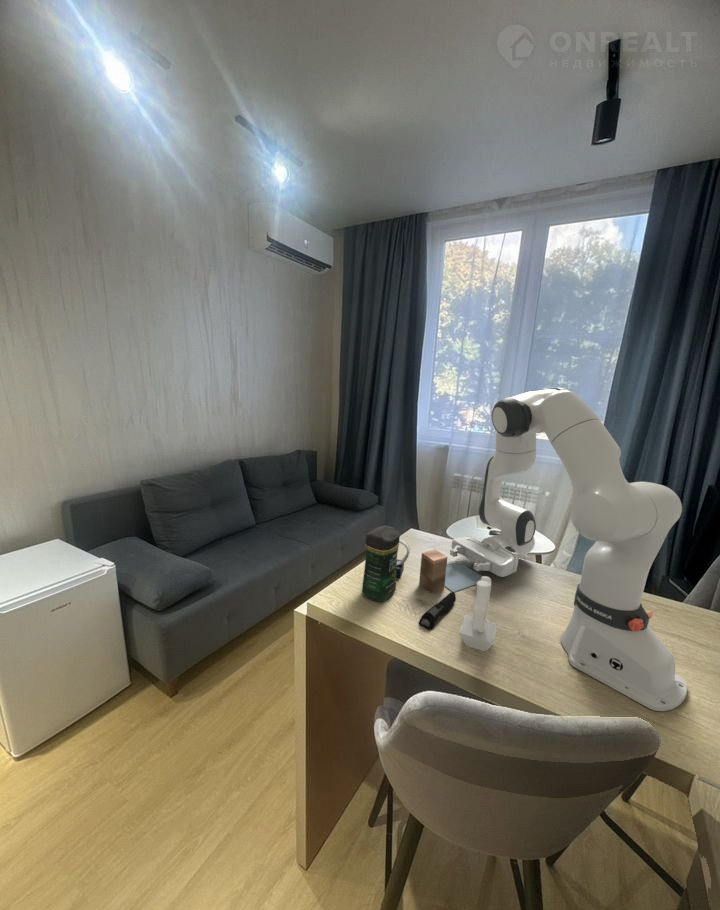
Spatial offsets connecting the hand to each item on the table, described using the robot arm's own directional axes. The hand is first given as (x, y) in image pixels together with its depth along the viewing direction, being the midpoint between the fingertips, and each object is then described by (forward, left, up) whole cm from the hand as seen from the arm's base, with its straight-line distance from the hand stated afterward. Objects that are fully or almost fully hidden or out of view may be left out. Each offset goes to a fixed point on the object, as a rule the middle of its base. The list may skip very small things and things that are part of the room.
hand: (463, 560), depth 111 cm
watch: (+11, +17, -6) cm, 21 cm away
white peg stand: (-22, +18, -6) cm, 29 cm away
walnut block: (0, +12, -6) cm, 13 cm away
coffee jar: (+4, +27, -6) cm, 28 cm away
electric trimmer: (-10, +18, -6) cm, 22 cm away
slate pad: (+1, +1, -6) cm, 6 cm away
